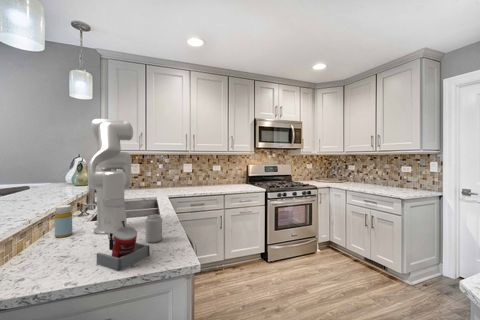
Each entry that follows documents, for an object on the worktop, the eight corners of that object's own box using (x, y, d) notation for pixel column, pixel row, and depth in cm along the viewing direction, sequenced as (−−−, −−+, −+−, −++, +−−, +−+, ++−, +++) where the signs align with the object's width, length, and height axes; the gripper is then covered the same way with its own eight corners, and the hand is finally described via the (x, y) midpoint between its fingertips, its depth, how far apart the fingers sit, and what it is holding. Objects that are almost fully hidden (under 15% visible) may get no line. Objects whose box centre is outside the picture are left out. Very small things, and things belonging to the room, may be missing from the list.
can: (156, 244, 106) (156, 218, 106) (142, 242, 107) (142, 217, 107) (165, 238, 113) (165, 214, 113) (151, 237, 115) (151, 213, 114)
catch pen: (96, 263, 86) (96, 253, 86) (129, 250, 99) (129, 240, 99) (118, 270, 81) (118, 259, 81) (149, 255, 94) (149, 245, 94)
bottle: (75, 234, 119) (75, 205, 118) (61, 238, 112) (60, 208, 112) (66, 232, 121) (65, 204, 121) (51, 237, 114) (51, 207, 114)
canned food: (121, 247, 94) (124, 224, 92) (138, 255, 92) (141, 231, 90) (106, 258, 87) (109, 233, 84) (124, 266, 85) (127, 241, 83)
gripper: (92, 203, 91) (93, 249, 91) (117, 206, 85) (118, 255, 85) (110, 200, 98) (110, 243, 98) (135, 202, 92) (135, 248, 92)
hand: (114, 248), depth 91 cm, fingers closed
